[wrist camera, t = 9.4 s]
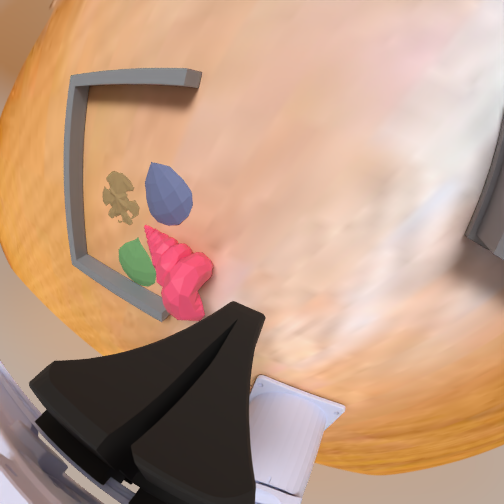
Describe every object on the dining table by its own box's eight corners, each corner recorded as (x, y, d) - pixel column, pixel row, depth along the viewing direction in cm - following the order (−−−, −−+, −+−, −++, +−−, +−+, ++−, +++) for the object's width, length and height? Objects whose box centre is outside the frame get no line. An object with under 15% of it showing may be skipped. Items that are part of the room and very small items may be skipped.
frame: (172, 311, 22) (161, 322, 21) (82, 258, 25) (72, 264, 23) (202, 72, 13) (187, 68, 12) (84, 75, 16) (70, 75, 14)
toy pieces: (238, 168, 15) (196, 182, 11) (220, 317, 20) (190, 355, 17) (102, 147, 18) (57, 157, 15) (109, 267, 24) (76, 289, 20)
